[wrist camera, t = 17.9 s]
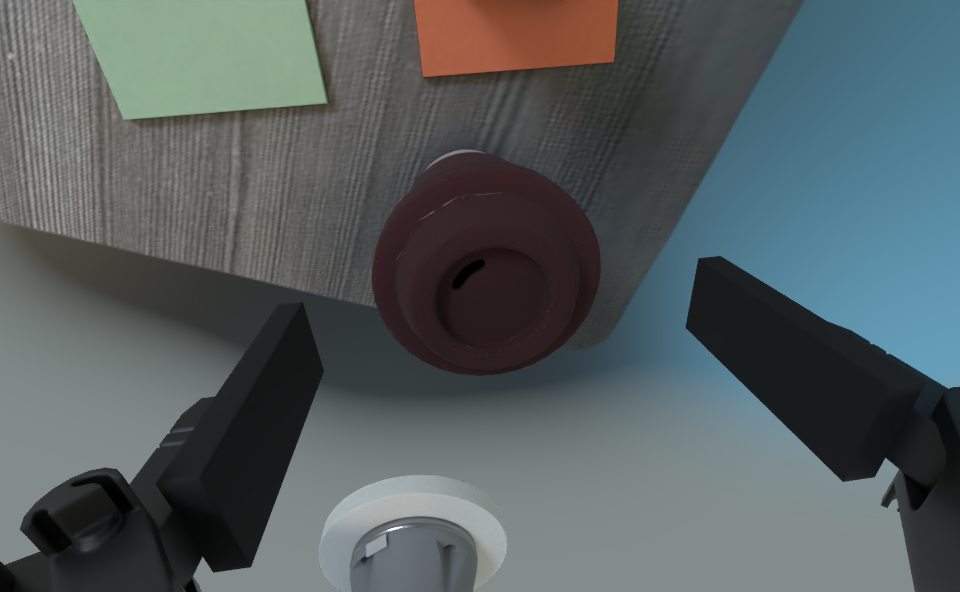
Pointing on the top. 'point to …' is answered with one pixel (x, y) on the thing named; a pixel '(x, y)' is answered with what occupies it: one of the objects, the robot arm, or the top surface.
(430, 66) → the terracotta mat
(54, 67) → the top surface
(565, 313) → the coffee cup
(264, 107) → the sage mat
